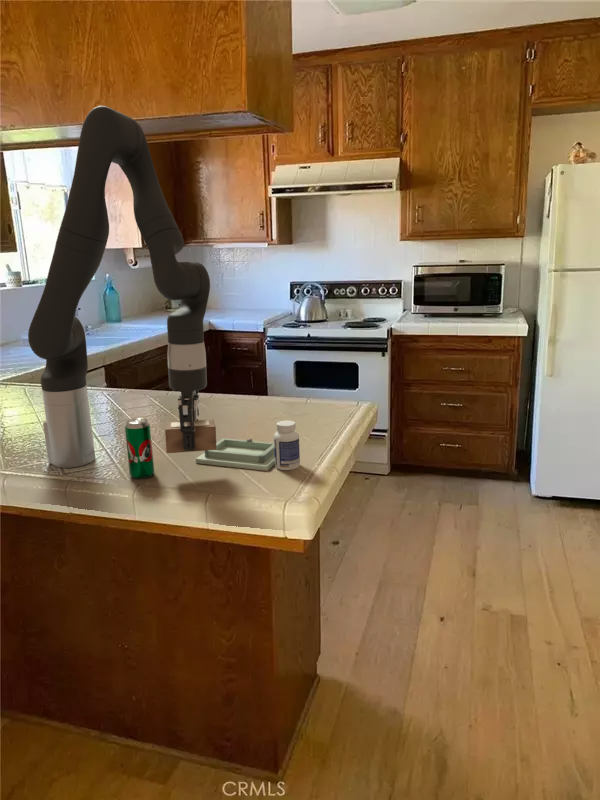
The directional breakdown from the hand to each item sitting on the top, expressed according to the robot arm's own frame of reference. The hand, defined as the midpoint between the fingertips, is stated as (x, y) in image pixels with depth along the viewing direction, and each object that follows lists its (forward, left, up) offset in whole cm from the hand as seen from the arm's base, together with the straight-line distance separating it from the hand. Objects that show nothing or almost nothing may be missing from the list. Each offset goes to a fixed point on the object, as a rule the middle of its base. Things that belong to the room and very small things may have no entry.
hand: (190, 444), depth 127 cm
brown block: (0, 0, -1) cm, 1 cm away
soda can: (-11, -3, -7) cm, 13 cm away
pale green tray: (+5, +12, -7) cm, 15 cm away
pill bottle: (+17, +10, -7) cm, 21 cm away
